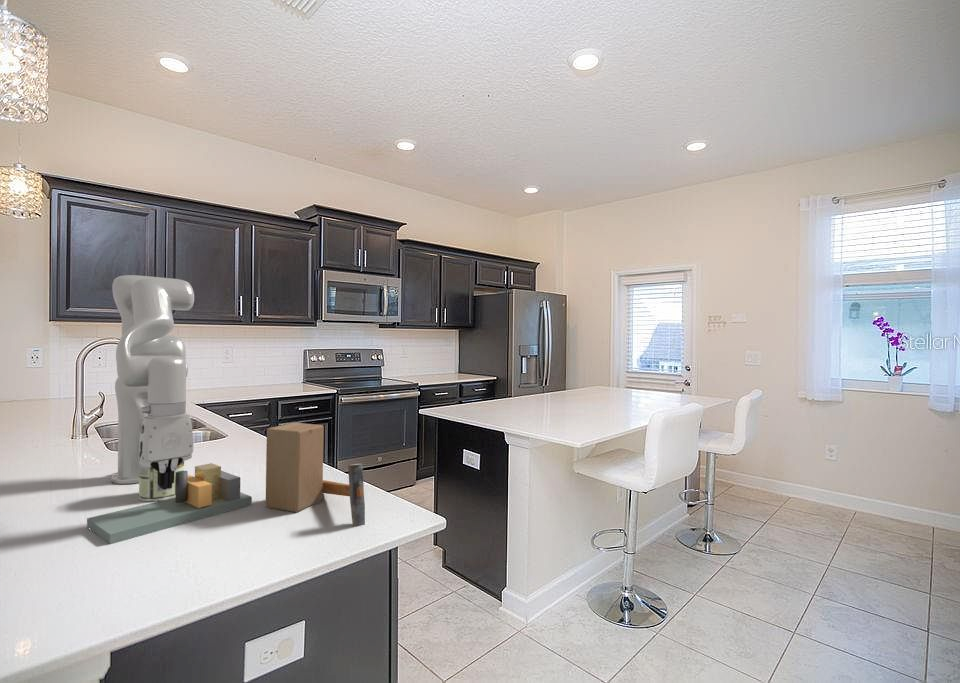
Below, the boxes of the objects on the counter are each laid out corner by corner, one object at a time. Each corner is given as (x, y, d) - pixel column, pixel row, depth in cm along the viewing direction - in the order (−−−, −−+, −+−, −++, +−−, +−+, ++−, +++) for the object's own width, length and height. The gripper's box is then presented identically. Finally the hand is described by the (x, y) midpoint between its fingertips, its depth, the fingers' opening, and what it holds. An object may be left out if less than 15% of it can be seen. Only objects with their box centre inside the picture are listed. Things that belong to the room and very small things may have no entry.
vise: (86, 527, 106) (87, 494, 106) (224, 493, 131) (224, 466, 131) (110, 544, 98) (110, 508, 98) (251, 504, 123) (252, 475, 123)
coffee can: (168, 487, 135) (169, 437, 135) (192, 492, 131) (193, 441, 131) (129, 497, 126) (129, 444, 126) (153, 504, 121) (154, 448, 121)
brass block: (194, 498, 121) (194, 466, 121) (210, 494, 124) (211, 463, 124) (203, 502, 118) (204, 469, 118) (220, 498, 121) (221, 466, 121)
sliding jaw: (164, 499, 118) (165, 468, 118) (188, 494, 123) (189, 464, 123) (187, 511, 111) (187, 477, 111) (211, 504, 116) (212, 472, 116)
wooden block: (323, 500, 127) (324, 424, 127) (297, 513, 117) (298, 431, 117) (292, 495, 130) (293, 422, 130) (264, 507, 121) (265, 428, 121)
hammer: (312, 463, 135) (353, 465, 111) (321, 462, 136) (363, 463, 113) (315, 514, 132) (356, 527, 109) (324, 512, 134) (367, 524, 110)
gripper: (135, 415, 105) (133, 499, 105) (207, 408, 116) (206, 483, 117) (123, 411, 109) (122, 492, 109) (194, 405, 121) (193, 477, 121)
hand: (165, 487), depth 113 cm, fingers closed
